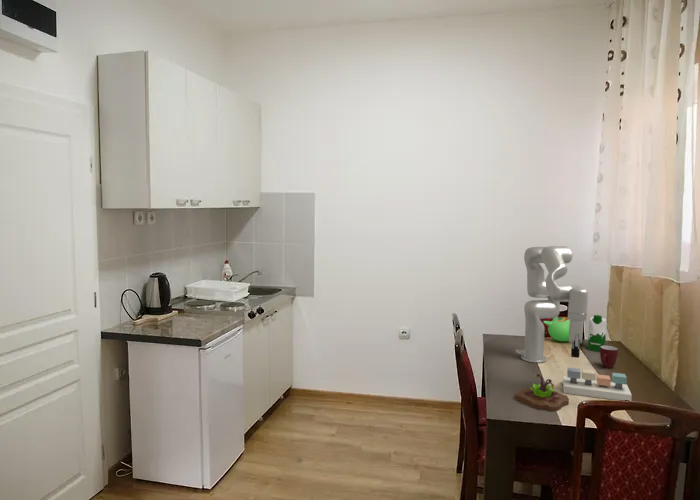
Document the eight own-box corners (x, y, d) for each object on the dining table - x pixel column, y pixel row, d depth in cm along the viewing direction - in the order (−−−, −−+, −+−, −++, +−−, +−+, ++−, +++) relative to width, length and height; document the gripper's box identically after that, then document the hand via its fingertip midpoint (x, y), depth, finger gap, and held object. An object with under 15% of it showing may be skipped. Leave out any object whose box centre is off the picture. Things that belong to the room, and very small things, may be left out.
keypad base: (563, 392, 217) (564, 386, 217) (562, 382, 230) (562, 375, 230) (631, 401, 208) (631, 395, 208) (625, 390, 221) (626, 383, 221)
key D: (612, 389, 214) (613, 376, 214) (611, 385, 219) (612, 372, 218) (625, 391, 212) (626, 377, 212) (624, 387, 217) (625, 374, 216)
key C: (597, 391, 216) (597, 378, 216) (595, 387, 221) (596, 374, 221) (610, 393, 215) (610, 379, 214) (608, 389, 219) (609, 375, 219)
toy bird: (570, 346, 288) (572, 321, 286) (541, 340, 299) (542, 316, 297) (580, 340, 302) (581, 316, 300) (551, 335, 312) (552, 312, 311)
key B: (582, 385, 218) (583, 372, 218) (581, 382, 223) (582, 369, 223) (594, 387, 217) (595, 374, 216) (593, 383, 221) (594, 370, 221)
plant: (532, 388, 223) (533, 364, 222) (575, 402, 208) (576, 376, 207) (507, 399, 210) (508, 374, 209) (551, 415, 195) (552, 387, 194)
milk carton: (586, 350, 280) (588, 315, 278) (588, 346, 288) (590, 312, 286) (604, 353, 276) (606, 317, 274) (605, 349, 283) (607, 314, 281)
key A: (567, 383, 221) (568, 370, 220) (566, 380, 225) (567, 367, 225) (579, 385, 219) (580, 372, 218) (578, 381, 223) (579, 368, 223)
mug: (613, 372, 245) (614, 352, 244) (595, 368, 250) (596, 349, 249) (618, 366, 253) (619, 347, 252) (601, 363, 258) (602, 344, 257)
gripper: (567, 312, 227) (565, 351, 229) (568, 319, 213) (566, 360, 215) (585, 313, 225) (582, 353, 226) (588, 320, 211) (585, 362, 212)
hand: (575, 356), depth 221 cm, fingers closed
